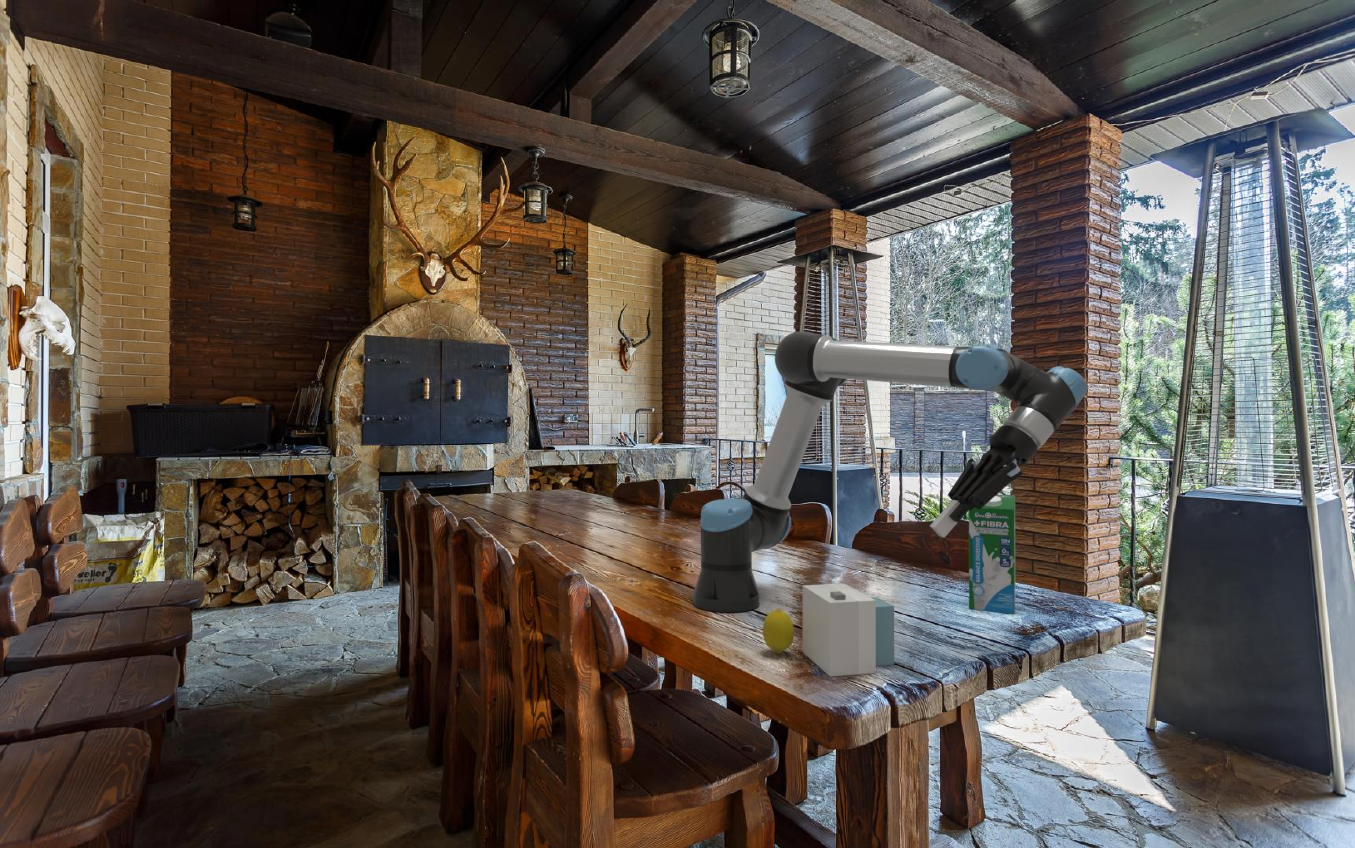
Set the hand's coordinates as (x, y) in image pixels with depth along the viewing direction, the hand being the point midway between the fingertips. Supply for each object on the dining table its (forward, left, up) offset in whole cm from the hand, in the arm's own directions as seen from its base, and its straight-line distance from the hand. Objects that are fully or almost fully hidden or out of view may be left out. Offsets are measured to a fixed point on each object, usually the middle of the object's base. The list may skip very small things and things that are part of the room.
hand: (937, 531), depth 119 cm
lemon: (-6, -28, -22) cm, 36 cm away
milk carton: (-26, +30, -22) cm, 45 cm away
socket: (0, -18, -22) cm, 28 cm away
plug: (0, -14, -22) cm, 26 cm away
